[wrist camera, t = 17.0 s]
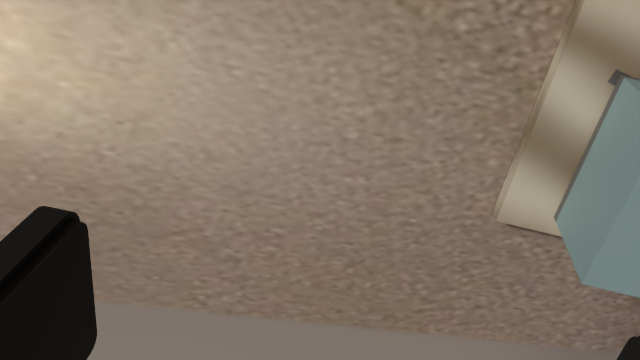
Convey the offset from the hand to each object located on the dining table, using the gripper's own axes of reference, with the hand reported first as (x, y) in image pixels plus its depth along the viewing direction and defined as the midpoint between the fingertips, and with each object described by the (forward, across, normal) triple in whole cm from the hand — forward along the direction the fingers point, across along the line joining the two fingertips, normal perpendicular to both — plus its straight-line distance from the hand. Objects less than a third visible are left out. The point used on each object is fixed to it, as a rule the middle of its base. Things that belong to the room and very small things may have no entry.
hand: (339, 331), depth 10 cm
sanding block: (+26, -16, +7) cm, 31 cm away
